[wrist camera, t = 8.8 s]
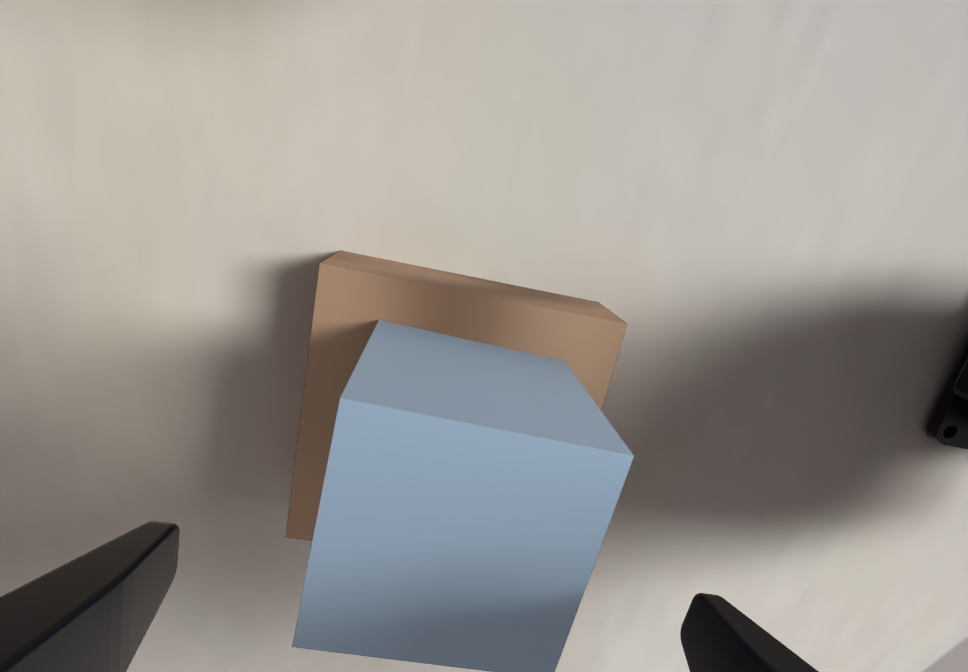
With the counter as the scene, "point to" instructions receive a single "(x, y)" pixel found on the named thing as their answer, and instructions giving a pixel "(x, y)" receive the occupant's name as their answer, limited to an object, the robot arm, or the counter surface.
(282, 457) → the counter surface
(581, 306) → the walnut block
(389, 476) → the slate cube
